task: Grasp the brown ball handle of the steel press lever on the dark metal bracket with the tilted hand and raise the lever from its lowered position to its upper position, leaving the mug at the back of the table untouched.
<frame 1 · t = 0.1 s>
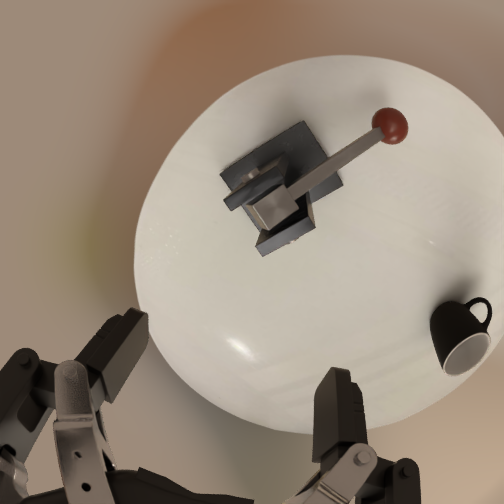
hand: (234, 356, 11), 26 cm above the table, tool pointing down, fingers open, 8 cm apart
bracket: (281, 176, 33), on the table
lever: (341, 158, 21), point 11 cm above the table, hinge at -25.0°
mug: (451, 309, 36), on the table
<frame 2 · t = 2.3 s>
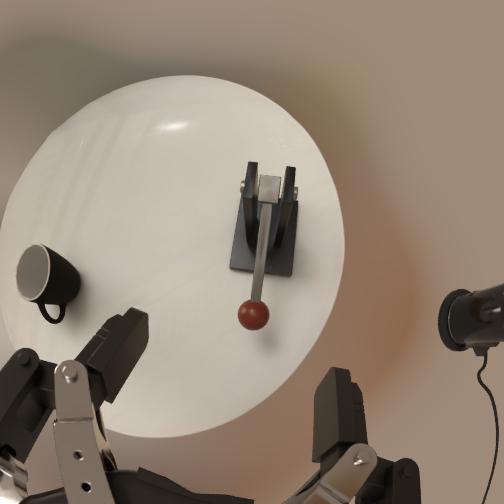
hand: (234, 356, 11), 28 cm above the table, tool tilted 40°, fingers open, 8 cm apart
bracket: (265, 235, 42), on the table
lever: (261, 256, 30), point 11 cm above the table, hinge at -25.0°
mug: (69, 292, 40), on the table
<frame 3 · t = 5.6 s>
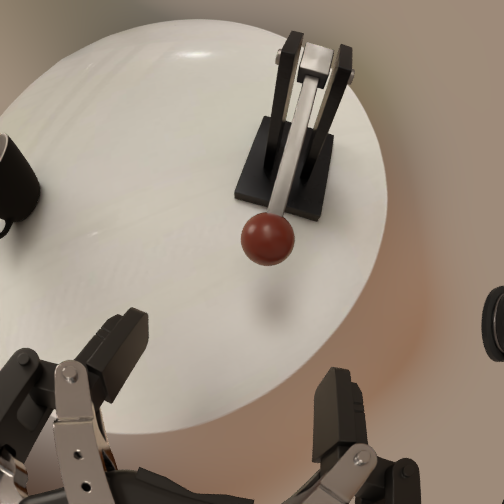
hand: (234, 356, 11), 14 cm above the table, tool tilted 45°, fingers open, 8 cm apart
bracket: (288, 165, 30), on the table
lever: (294, 144, 18), point 11 cm above the table, hinge at -25.0°
mug: (23, 211, 27), on the table
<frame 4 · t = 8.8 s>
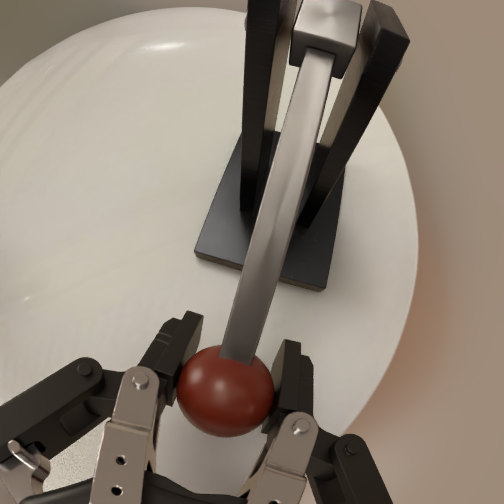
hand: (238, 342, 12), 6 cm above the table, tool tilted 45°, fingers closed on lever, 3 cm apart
bracket: (278, 201, 21), on the table
lever: (279, 206, 8), point 11 cm above the table, hinge at -25.0°, touching gripper
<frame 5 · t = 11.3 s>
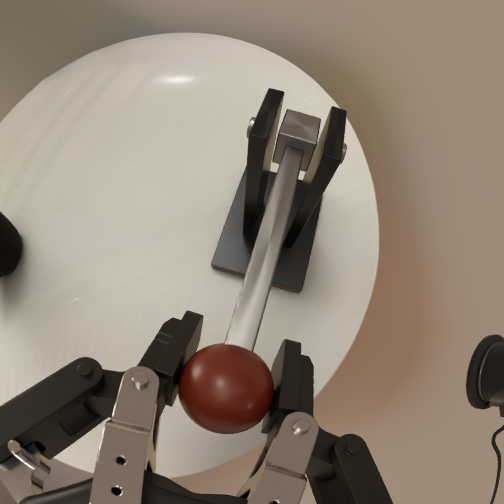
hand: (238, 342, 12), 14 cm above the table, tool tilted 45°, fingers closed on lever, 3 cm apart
bracket: (270, 227, 29), on the table
lever: (270, 236, 12), point 15 cm above the table, hinge at 8.9°, touching gripper
mug: (8, 263, 26), on the table
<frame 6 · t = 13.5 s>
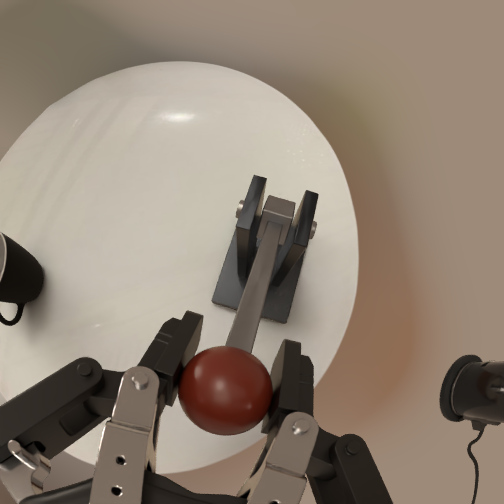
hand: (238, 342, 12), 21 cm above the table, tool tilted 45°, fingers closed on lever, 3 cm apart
bracket: (262, 267, 34), on the table
lever: (258, 280, 15), point 18 cm above the table, hinge at 36.2°, touching gripper
mug: (31, 290, 31), on the table
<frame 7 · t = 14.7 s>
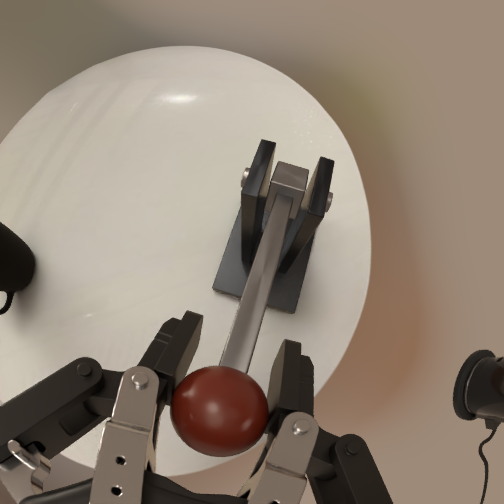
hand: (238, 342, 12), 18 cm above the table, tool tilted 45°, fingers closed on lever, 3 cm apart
bracket: (268, 251, 31), on the table
lever: (262, 272, 13), point 17 cm above the table, hinge at 24.1°, touching gripper
mug: (21, 279, 29), on the table
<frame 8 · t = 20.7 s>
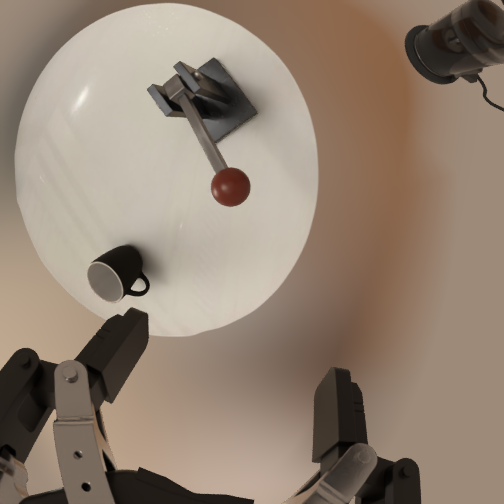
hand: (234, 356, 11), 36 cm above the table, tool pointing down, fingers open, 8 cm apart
bracket: (214, 100, 39), on the table
lever: (202, 132, 25), point 17 cm above the table, hinge at 24.0°
mug: (136, 262, 54), on the table
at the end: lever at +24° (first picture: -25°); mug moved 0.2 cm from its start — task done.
